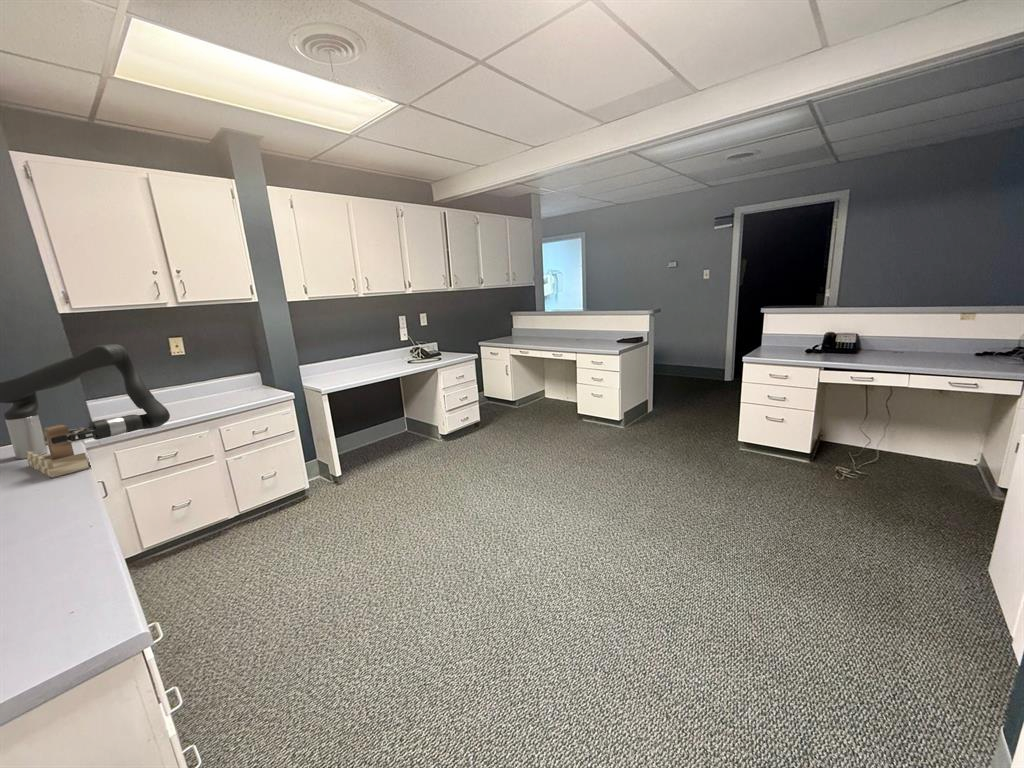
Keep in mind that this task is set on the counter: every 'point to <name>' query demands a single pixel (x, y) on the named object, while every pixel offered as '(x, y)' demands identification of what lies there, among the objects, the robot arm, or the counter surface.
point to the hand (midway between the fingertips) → (48, 440)
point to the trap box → (57, 464)
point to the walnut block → (59, 448)
